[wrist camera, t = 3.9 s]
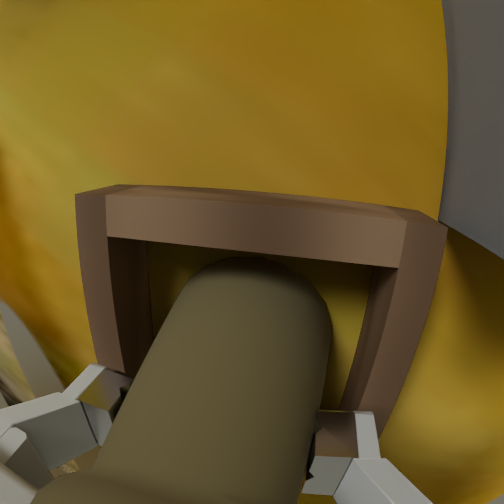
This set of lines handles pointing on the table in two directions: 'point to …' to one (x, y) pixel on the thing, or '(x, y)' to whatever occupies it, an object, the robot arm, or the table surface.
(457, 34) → the bin
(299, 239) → the socket collar
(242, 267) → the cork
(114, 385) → the robot arm
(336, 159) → the table surface
